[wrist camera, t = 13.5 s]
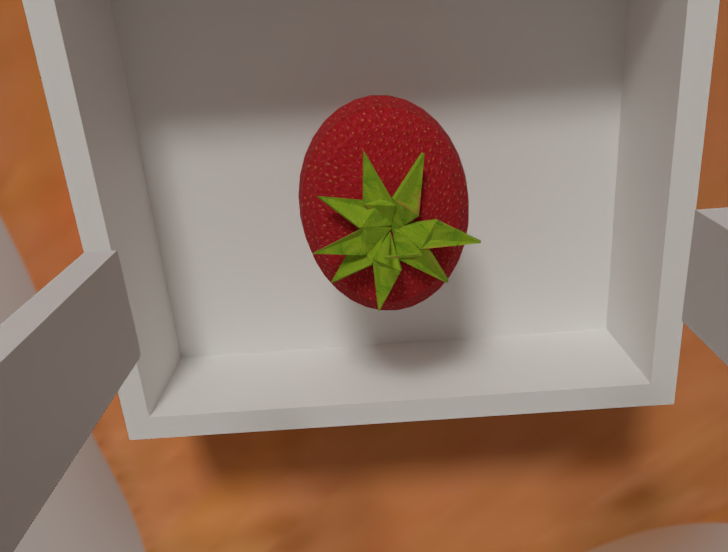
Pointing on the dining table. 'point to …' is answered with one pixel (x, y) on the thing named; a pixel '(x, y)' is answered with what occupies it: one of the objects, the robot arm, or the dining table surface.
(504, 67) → the bin
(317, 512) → the dining table surface
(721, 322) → the robot arm
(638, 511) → the dining table surface
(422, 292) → the strawberry
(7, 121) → the dining table surface
